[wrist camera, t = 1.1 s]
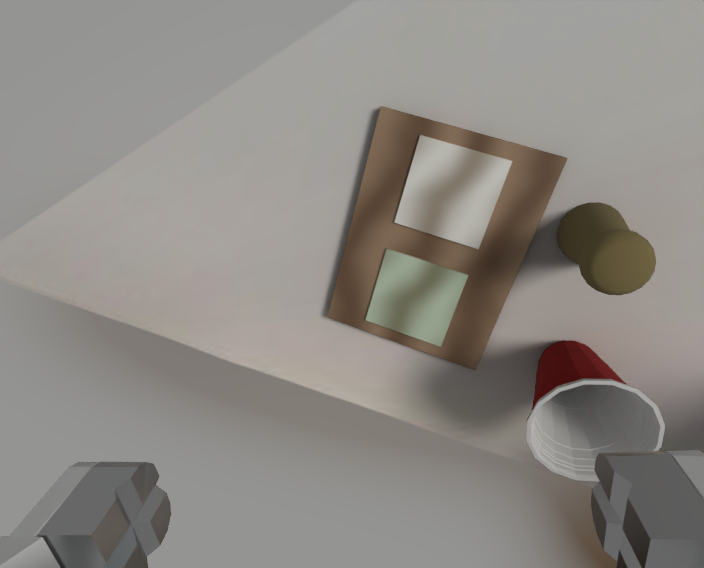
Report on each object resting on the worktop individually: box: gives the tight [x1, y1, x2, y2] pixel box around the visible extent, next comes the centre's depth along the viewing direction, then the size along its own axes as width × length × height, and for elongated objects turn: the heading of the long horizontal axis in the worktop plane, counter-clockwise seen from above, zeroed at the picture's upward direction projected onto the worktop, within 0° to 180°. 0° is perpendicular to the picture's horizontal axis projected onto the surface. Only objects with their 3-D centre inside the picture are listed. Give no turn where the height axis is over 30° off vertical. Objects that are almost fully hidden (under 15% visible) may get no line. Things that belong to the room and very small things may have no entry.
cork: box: [557, 203, 656, 295], centre depth 39 cm, size 6×6×11 cm
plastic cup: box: [526, 341, 665, 482], centre depth 43 cm, size 11×11×12 cm
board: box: [327, 107, 567, 370], centre depth 48 cm, size 18×24×1 cm
